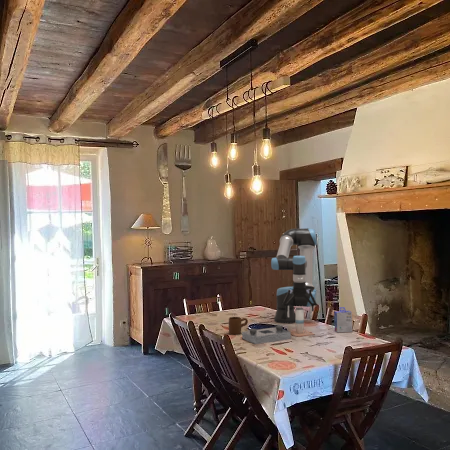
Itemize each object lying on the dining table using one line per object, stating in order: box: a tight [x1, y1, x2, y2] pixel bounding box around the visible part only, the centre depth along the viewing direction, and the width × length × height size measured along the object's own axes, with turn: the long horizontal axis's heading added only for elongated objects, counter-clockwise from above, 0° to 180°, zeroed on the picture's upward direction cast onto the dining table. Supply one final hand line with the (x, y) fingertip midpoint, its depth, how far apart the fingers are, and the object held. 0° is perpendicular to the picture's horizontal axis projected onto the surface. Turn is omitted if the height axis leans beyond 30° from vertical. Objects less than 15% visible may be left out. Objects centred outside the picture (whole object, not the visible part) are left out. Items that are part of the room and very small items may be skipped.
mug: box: [228, 316, 249, 336], centre depth 273 cm, size 12×8×9 cm, turn 104°
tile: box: [290, 330, 315, 338], centre depth 270 cm, size 12×12×1 cm
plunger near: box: [248, 328, 258, 335], centre depth 254 cm, size 4×4×5 cm
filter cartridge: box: [294, 307, 305, 334], centre depth 270 cm, size 5×5×15 cm
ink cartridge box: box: [333, 306, 353, 333], centre depth 275 cm, size 10×6×14 cm, turn 97°
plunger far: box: [275, 325, 284, 331], centre depth 262 cm, size 4×4×5 cm
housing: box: [241, 326, 292, 345], centre depth 258 cm, size 14×24×4 cm, turn 118°
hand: (299, 316), depth 270 cm, fingers open, 13 cm apart
